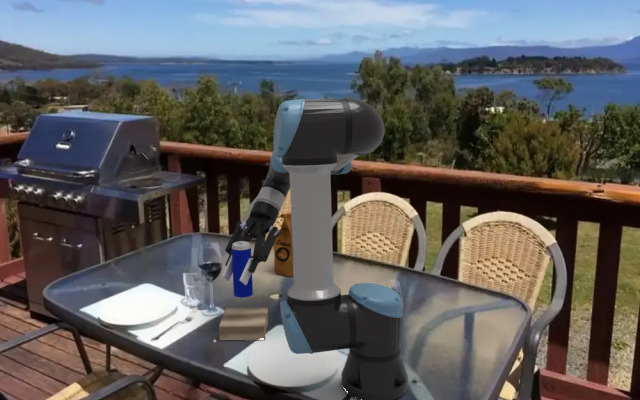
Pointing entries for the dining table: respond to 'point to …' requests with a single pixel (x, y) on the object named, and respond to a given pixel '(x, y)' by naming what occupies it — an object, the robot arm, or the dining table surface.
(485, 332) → the dining table surface
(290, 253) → the coffee package
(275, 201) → the robot arm
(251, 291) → the beverage can
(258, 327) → the oak block
